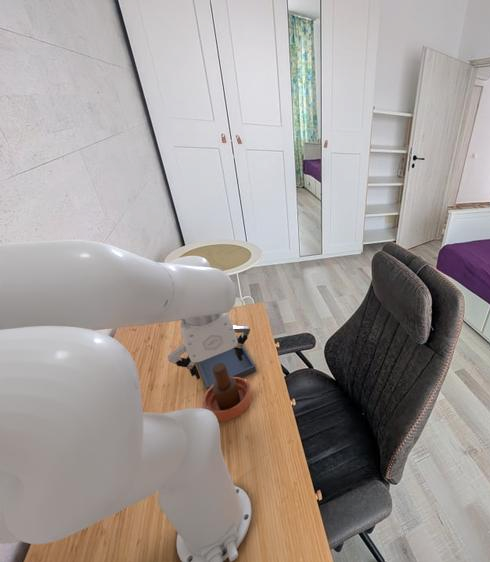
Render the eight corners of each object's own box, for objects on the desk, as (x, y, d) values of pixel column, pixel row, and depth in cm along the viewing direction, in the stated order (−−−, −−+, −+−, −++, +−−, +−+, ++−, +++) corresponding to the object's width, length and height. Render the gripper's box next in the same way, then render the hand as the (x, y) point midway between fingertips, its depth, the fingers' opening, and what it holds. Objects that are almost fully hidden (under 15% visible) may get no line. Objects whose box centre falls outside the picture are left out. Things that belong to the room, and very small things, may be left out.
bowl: (258, 406, 76) (255, 397, 74) (212, 431, 70) (209, 421, 68) (244, 380, 84) (241, 370, 82) (201, 399, 77) (198, 390, 75)
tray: (256, 372, 86) (255, 366, 85) (209, 394, 79) (206, 387, 77) (238, 340, 97) (236, 335, 96) (194, 357, 90) (192, 351, 88)
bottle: (243, 404, 76) (233, 368, 70) (221, 415, 73) (209, 379, 66) (236, 390, 80) (227, 356, 73) (216, 400, 77) (204, 365, 70)
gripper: (156, 337, 54) (182, 394, 63) (248, 306, 64) (259, 359, 73) (151, 316, 59) (175, 372, 68) (237, 291, 69) (249, 343, 77)
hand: (219, 366), depth 70 cm, fingers open, 9 cm apart
